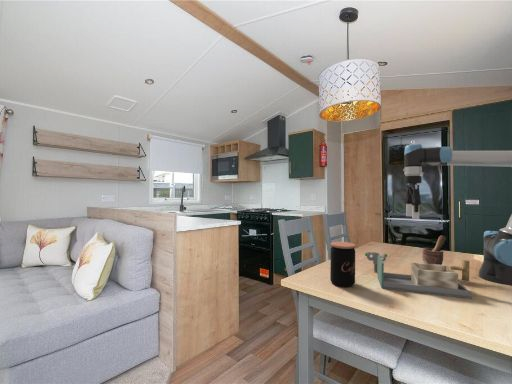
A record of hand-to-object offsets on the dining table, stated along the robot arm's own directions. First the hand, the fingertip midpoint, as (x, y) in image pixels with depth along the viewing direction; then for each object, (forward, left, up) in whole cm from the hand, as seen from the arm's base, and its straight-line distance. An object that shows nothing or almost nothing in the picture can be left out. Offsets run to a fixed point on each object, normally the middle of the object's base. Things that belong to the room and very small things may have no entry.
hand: (412, 217), depth 130 cm
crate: (-7, +19, -28) cm, 34 cm away
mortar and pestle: (-10, -2, -29) cm, 31 cm away
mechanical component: (+17, +3, -29) cm, 34 cm away
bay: (+1, +19, -29) cm, 34 cm away
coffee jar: (+33, +26, -29) cm, 51 cm away
